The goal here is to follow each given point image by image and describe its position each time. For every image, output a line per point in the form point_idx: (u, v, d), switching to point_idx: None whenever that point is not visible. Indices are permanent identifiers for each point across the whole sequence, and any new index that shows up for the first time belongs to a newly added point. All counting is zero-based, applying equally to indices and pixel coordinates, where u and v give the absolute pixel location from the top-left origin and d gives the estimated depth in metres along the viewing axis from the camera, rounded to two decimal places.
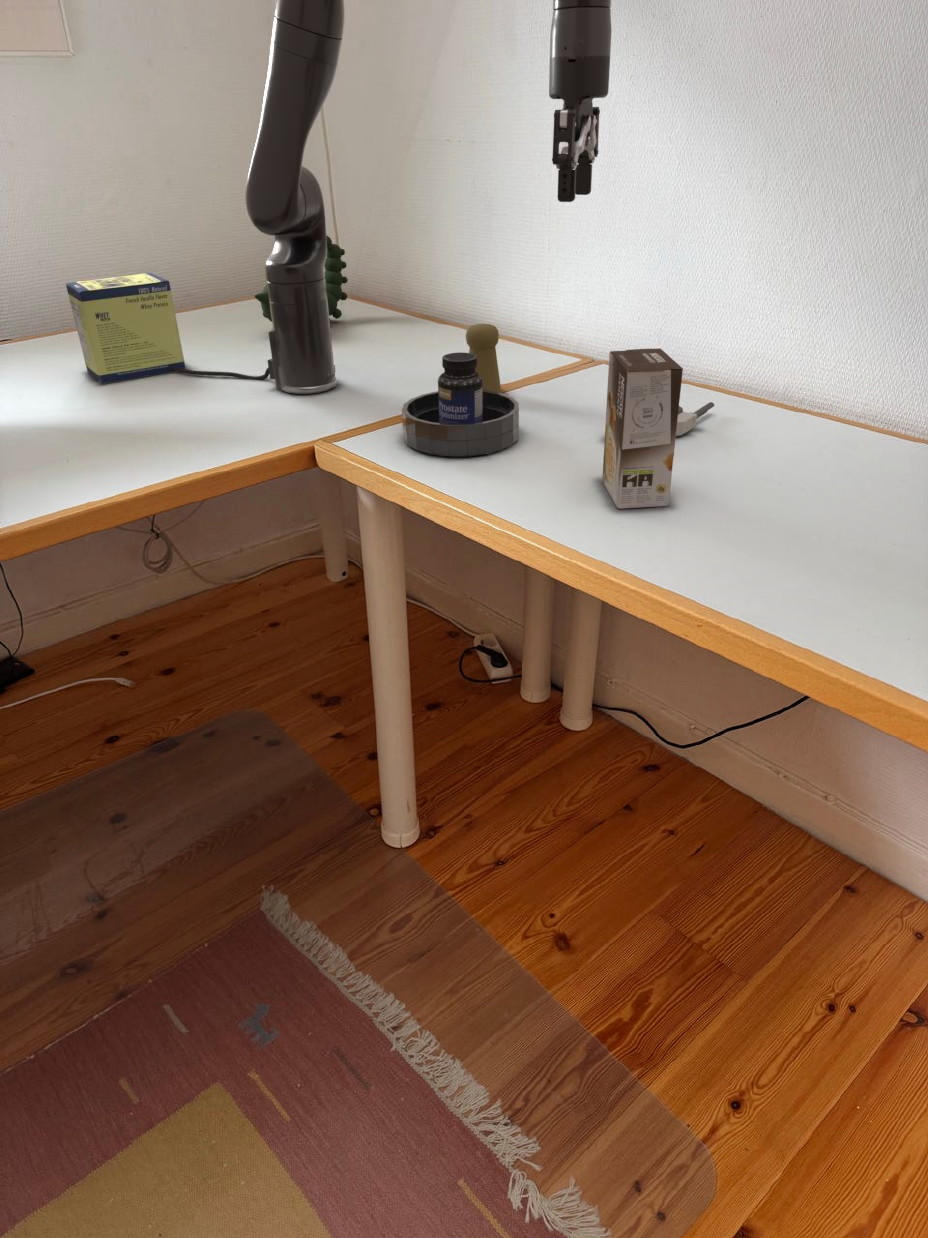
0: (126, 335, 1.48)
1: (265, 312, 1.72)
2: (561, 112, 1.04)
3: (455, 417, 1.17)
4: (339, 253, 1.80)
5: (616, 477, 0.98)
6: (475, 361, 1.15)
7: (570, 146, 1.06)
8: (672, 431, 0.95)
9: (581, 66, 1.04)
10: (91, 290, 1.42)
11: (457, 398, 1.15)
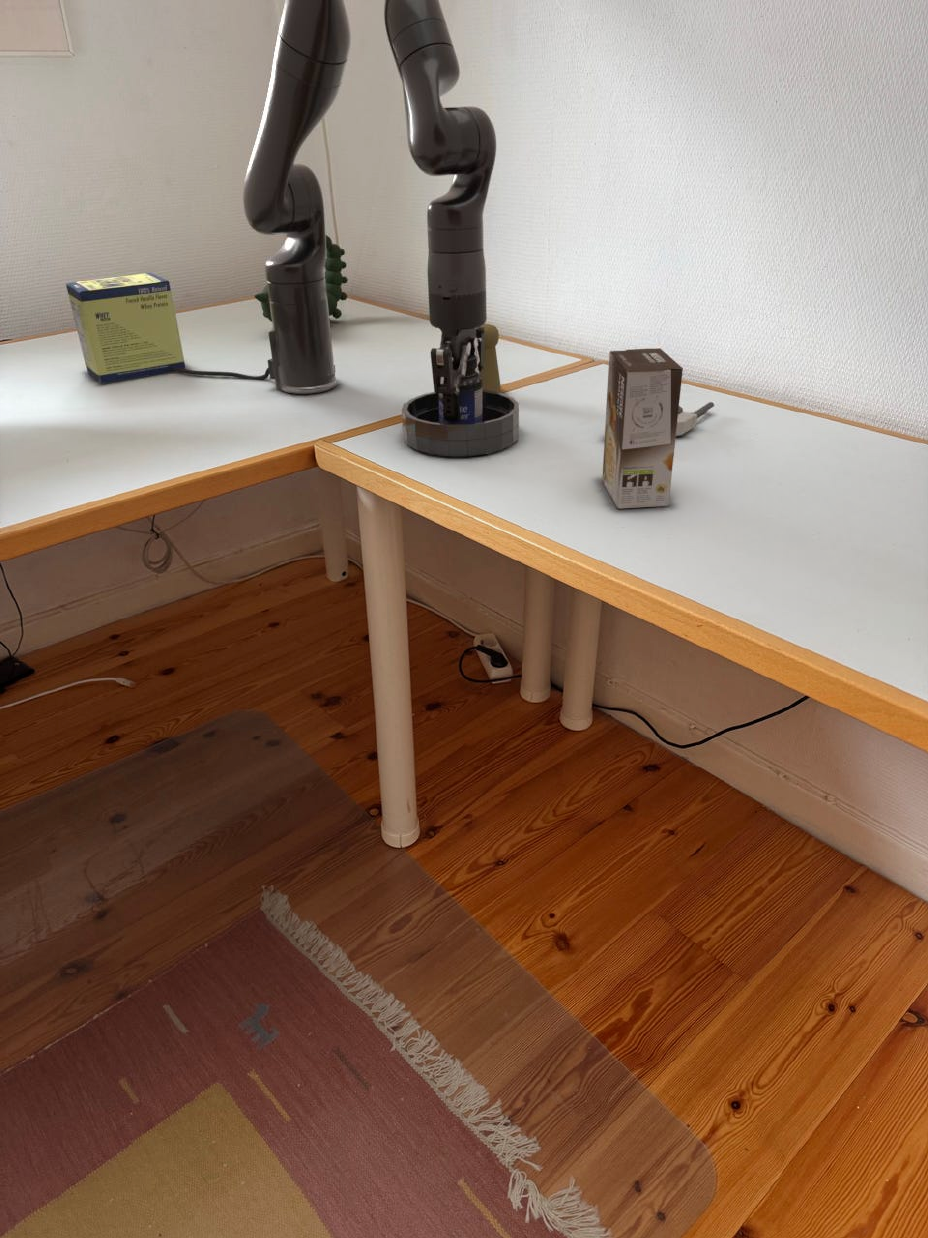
0: (126, 335, 1.48)
1: (265, 312, 1.72)
2: (437, 353, 1.09)
3: None
4: (339, 253, 1.80)
5: (616, 477, 0.98)
6: (475, 361, 1.15)
7: (449, 381, 1.10)
8: (672, 431, 0.95)
9: (455, 303, 1.08)
10: (91, 290, 1.42)
11: None
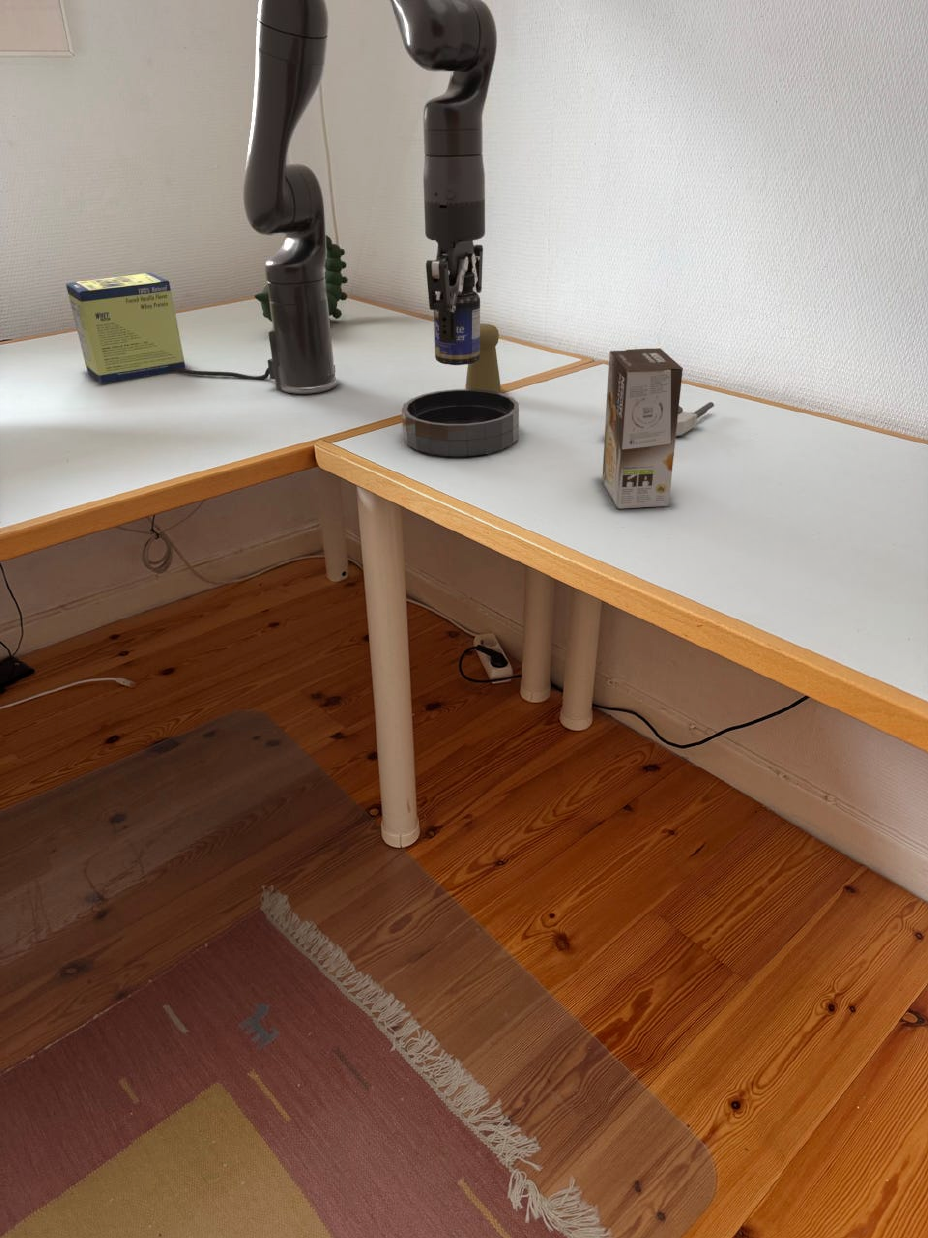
0: (126, 335, 1.48)
1: (265, 312, 1.72)
2: (432, 264, 1.03)
3: None
4: (339, 253, 1.80)
5: (616, 477, 0.98)
6: (473, 278, 1.09)
7: (445, 296, 1.05)
8: (672, 431, 0.95)
9: (452, 212, 1.03)
10: (91, 290, 1.42)
11: None
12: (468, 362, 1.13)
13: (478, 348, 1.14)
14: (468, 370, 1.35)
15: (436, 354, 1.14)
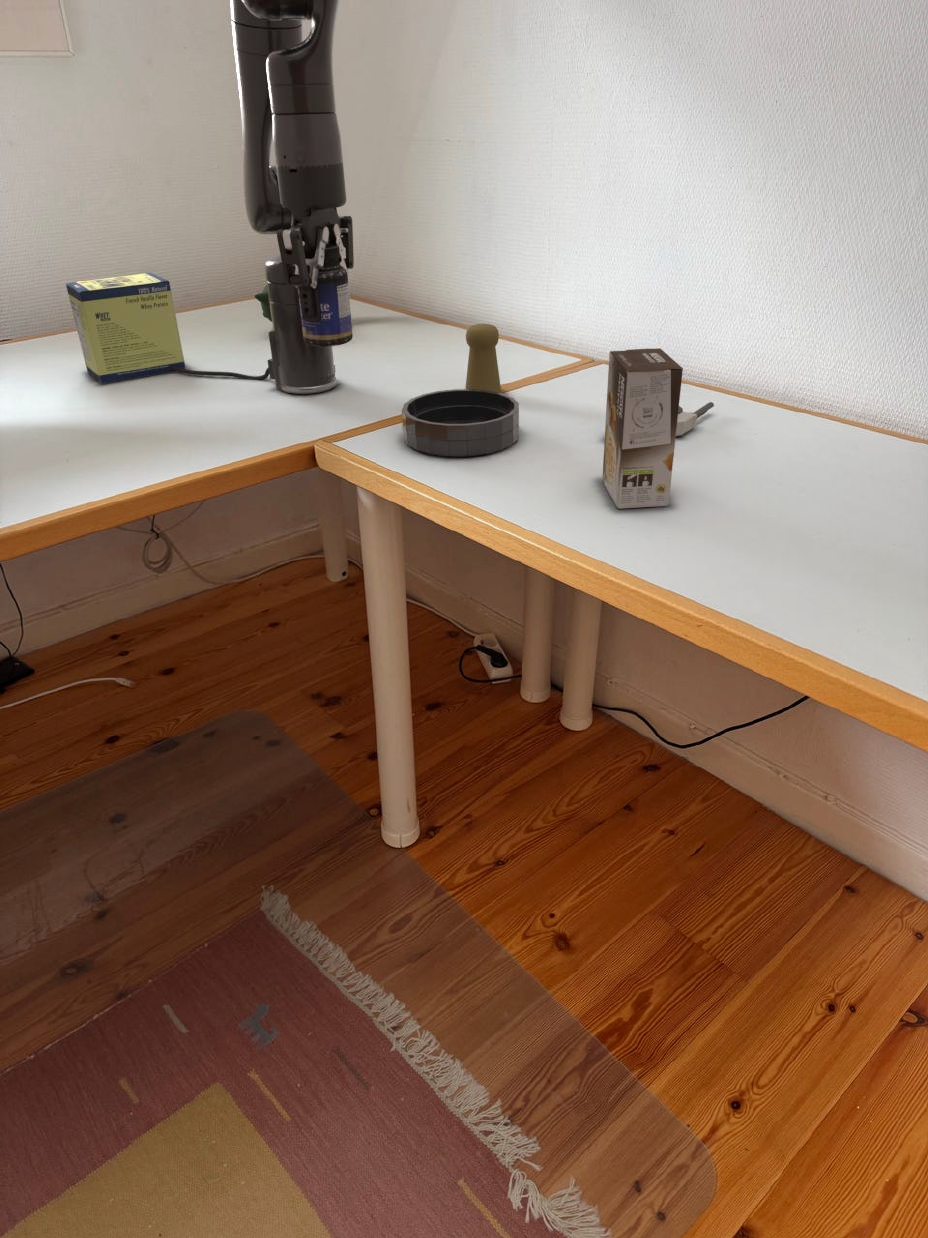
0: (126, 335, 1.48)
1: (265, 312, 1.72)
2: (283, 234, 0.94)
3: None
4: None
5: (616, 477, 0.98)
6: (336, 251, 1.00)
7: (300, 269, 0.96)
8: (672, 431, 0.95)
9: (303, 177, 0.94)
10: (91, 290, 1.42)
11: None
12: (337, 343, 1.04)
13: (348, 328, 1.05)
14: (468, 370, 1.35)
15: (303, 335, 1.05)
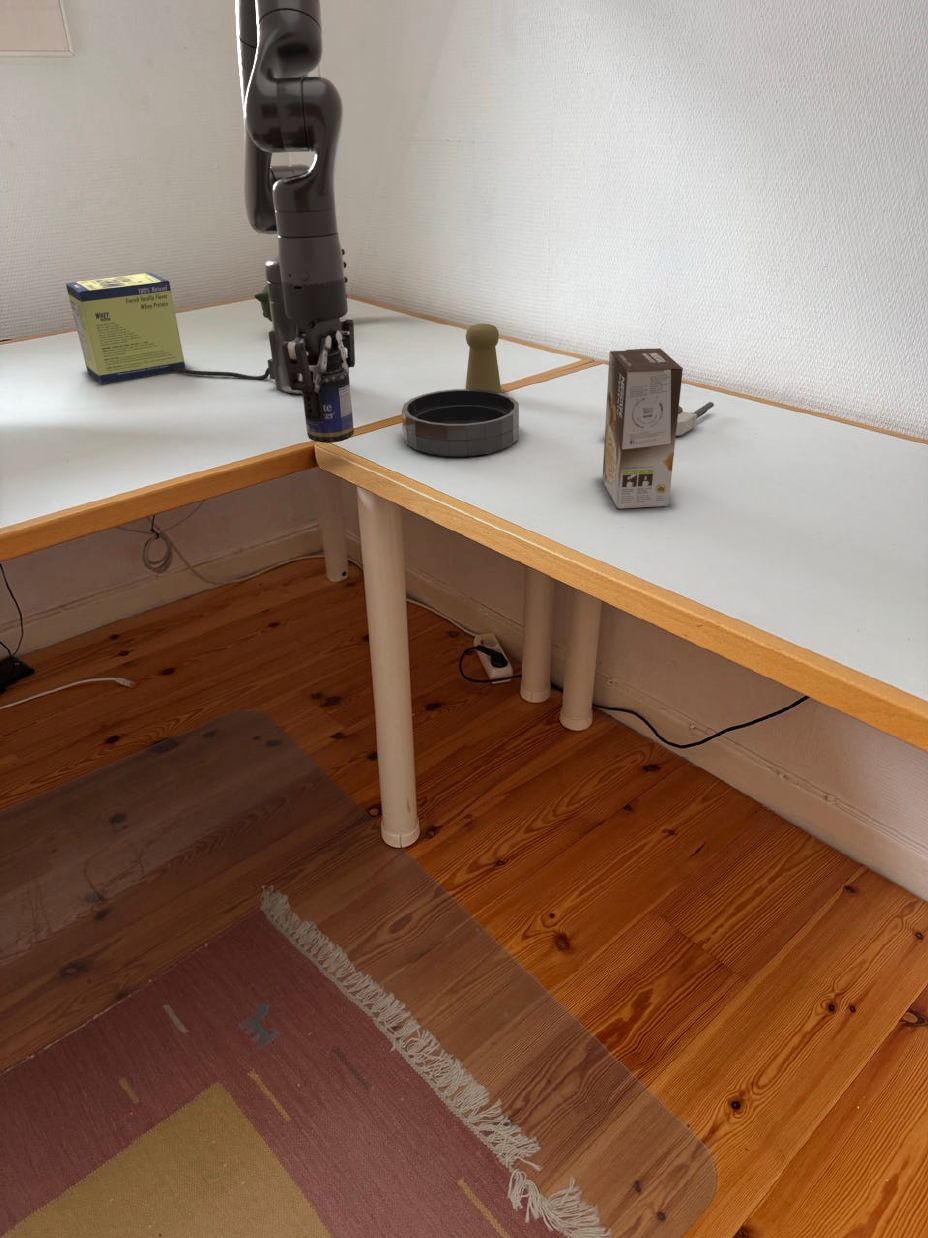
0: (126, 335, 1.48)
1: (265, 312, 1.72)
2: (288, 346, 1.00)
3: None
4: None
5: (616, 477, 0.98)
6: (338, 356, 1.06)
7: (304, 377, 1.02)
8: (672, 431, 0.95)
9: (307, 293, 0.99)
10: (91, 290, 1.42)
11: None
12: (339, 439, 1.10)
13: (350, 425, 1.10)
14: (468, 370, 1.35)
15: (307, 431, 1.11)
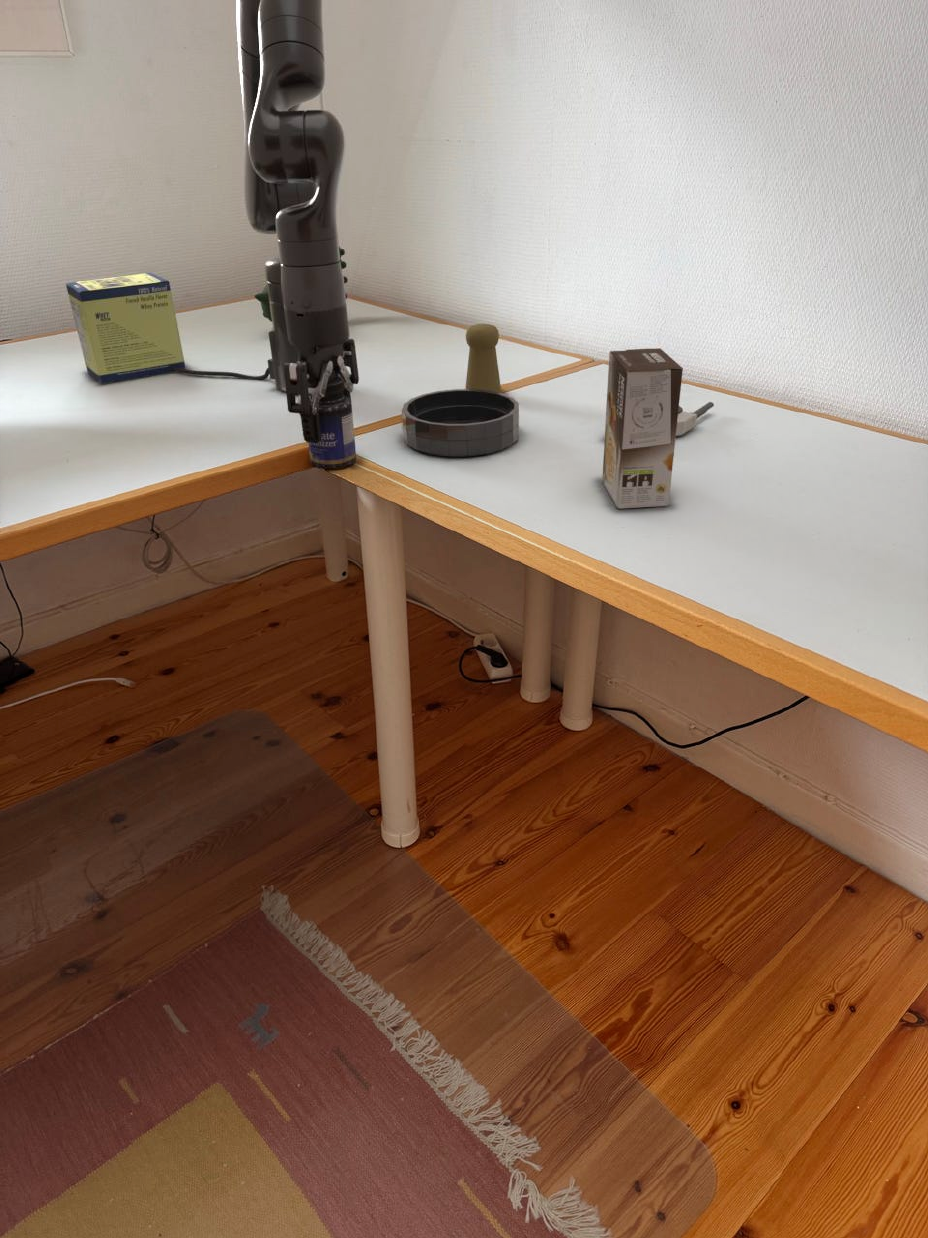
0: (126, 335, 1.48)
1: (265, 312, 1.72)
2: (290, 367, 1.01)
3: (322, 444, 1.10)
4: (339, 253, 1.80)
5: (616, 477, 0.98)
6: (341, 385, 1.08)
7: (302, 399, 1.03)
8: (672, 431, 0.95)
9: (309, 320, 1.01)
10: (91, 290, 1.42)
11: (323, 424, 1.08)
12: (342, 466, 1.12)
13: (352, 452, 1.12)
14: (468, 370, 1.35)
15: (310, 458, 1.13)
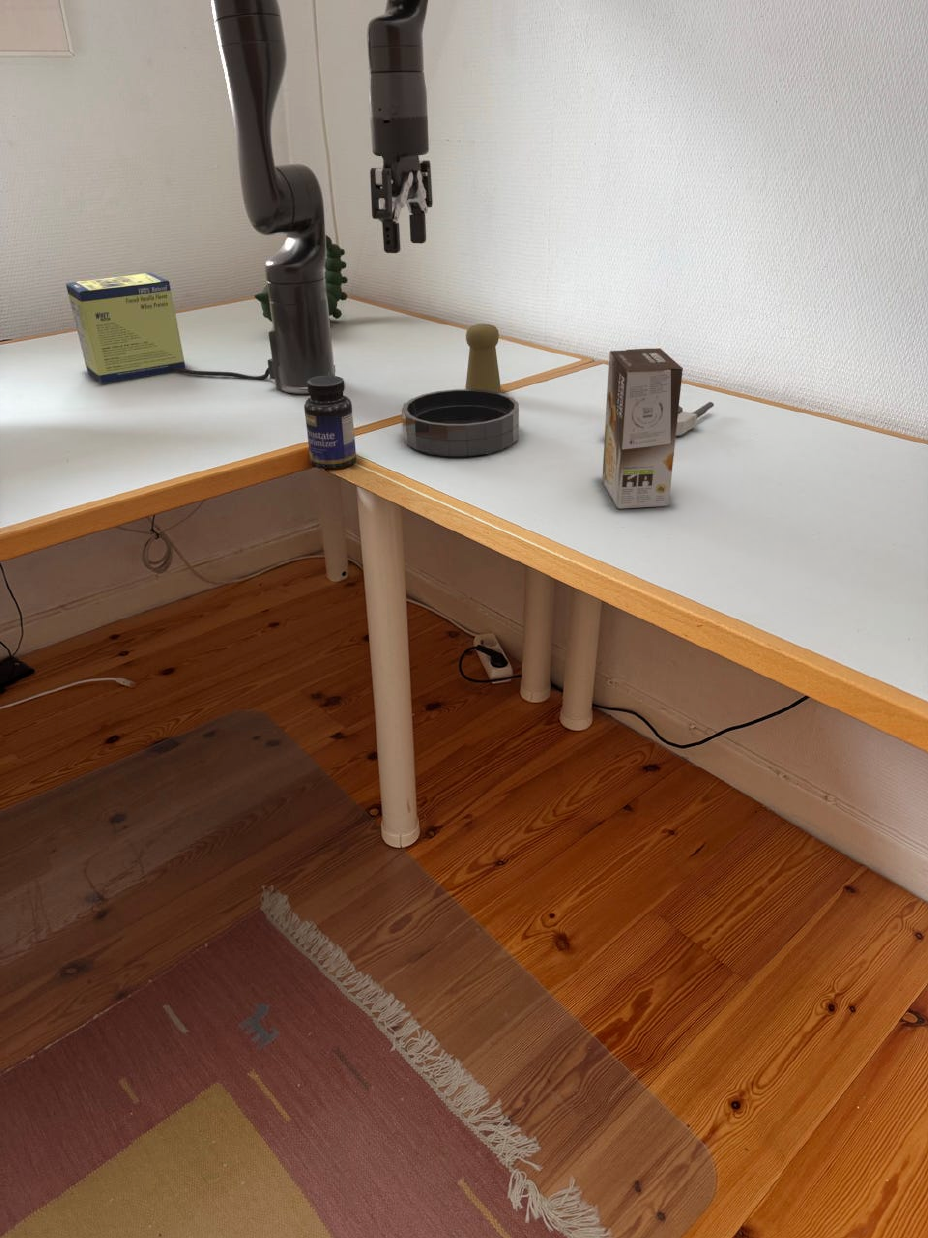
0: (126, 335, 1.48)
1: (265, 312, 1.72)
2: (376, 170, 1.09)
3: (322, 444, 1.10)
4: (339, 253, 1.80)
5: (616, 477, 0.98)
6: (341, 385, 1.08)
7: (387, 202, 1.11)
8: (672, 431, 0.95)
9: (395, 127, 1.09)
10: (91, 290, 1.42)
11: (323, 424, 1.08)
12: (342, 466, 1.12)
13: (352, 452, 1.12)
14: (468, 370, 1.35)
15: (310, 458, 1.13)
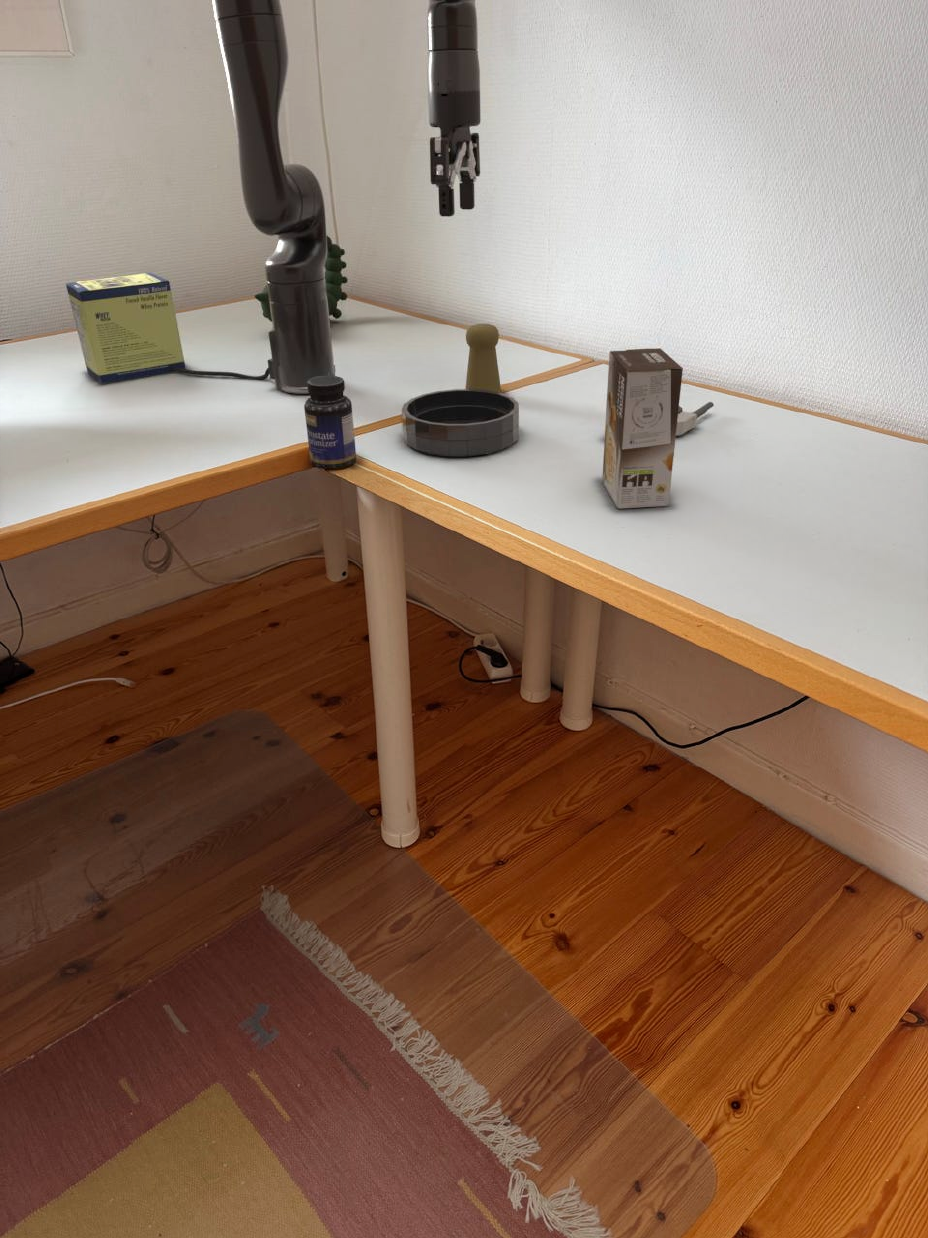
0: (126, 335, 1.48)
1: (265, 312, 1.72)
2: (435, 139, 1.21)
3: (322, 444, 1.10)
4: (339, 253, 1.80)
5: (616, 477, 0.98)
6: (341, 385, 1.08)
7: (444, 168, 1.22)
8: (672, 431, 0.95)
9: (452, 99, 1.20)
10: (91, 290, 1.42)
11: (323, 424, 1.08)
12: (342, 466, 1.12)
13: (352, 452, 1.12)
14: (468, 370, 1.35)
15: (310, 458, 1.13)
